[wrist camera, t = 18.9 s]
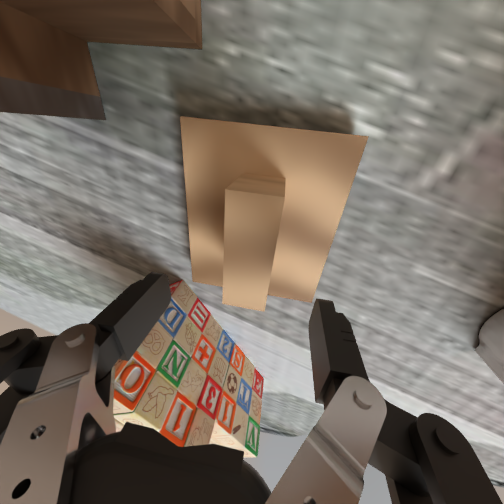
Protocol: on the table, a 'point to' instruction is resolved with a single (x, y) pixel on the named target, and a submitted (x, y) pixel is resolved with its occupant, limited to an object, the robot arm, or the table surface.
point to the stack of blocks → (190, 381)
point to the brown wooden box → (79, 47)
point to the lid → (264, 205)
